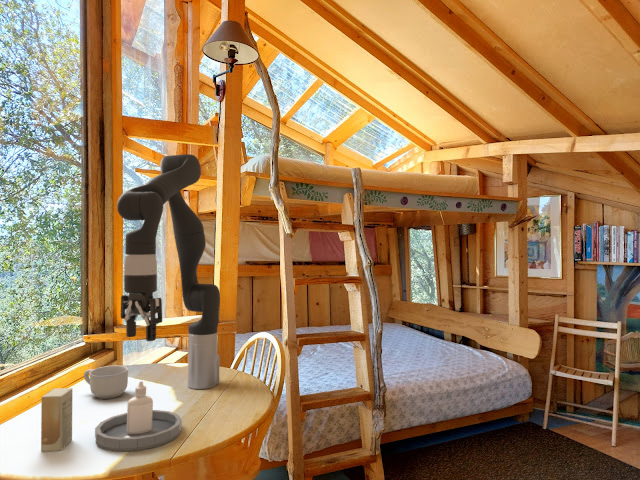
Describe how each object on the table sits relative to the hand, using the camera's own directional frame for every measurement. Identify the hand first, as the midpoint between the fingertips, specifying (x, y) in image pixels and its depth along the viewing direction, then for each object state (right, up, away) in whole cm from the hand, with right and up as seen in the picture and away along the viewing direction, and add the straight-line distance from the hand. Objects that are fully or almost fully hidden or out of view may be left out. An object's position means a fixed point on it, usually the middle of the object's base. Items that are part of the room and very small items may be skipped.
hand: (140, 338), depth 117 cm
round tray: (+1, -23, -3) cm, 23 cm away
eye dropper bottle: (+1, -22, -3) cm, 22 cm away
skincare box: (-16, -23, -9) cm, 29 cm away
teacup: (-22, -23, +28) cm, 43 cm away
